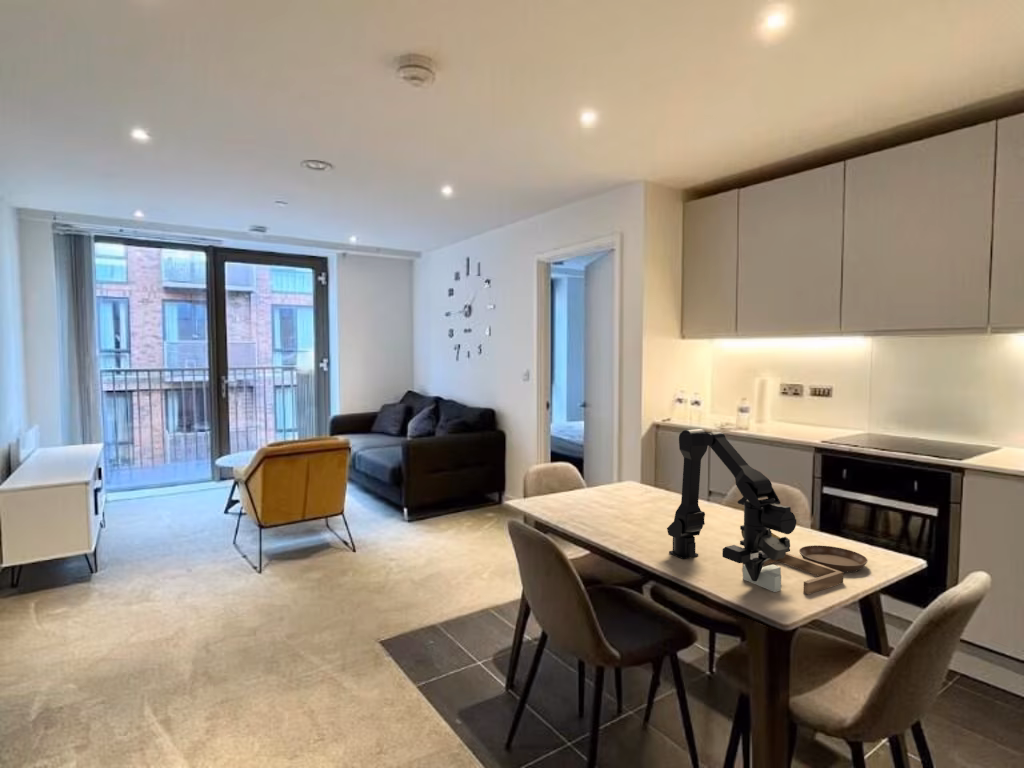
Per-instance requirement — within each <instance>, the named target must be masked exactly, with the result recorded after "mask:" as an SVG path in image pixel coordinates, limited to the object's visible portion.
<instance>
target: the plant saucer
mask: <svg viewBox="0 0 1024 768" xmlns="http://www.w3.org/2000/svg"><path fill="white" fill-rule="evenodd" d="M798 551H799V553H800V556H801V558H803V559H806V560H809V561H812V562H815V563H818V564H821V565H824V566H827V567H829V568H832V569H835V570H838V571H841V572H843V573H855V572H858V571H860V570H862V569H863V568H864V566H865V565H867V563H868V561H869V559H868V558H867V556H864V555H862V554H861V553H858V552H856V551H853V550H850V549H847V548H844V547H843V548H842V547H838V546H837V547H836V546H830V545H821V544H820V545H815V544H814V545H807V546H806V545H805V546H802V547H801V548H799V550H798Z"/></svg>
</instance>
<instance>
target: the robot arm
mask: <svg viewBox="0 0 1024 768" xmlns="http://www.w3.org/2000/svg"><path fill="white" fill-rule="evenodd" d="M678 444H679V445H678V447H679V451H680V453H681V455H682V457H683V466H682V467H683V468H682V470H683V471H682V472H683V473H682V485H681V500H680V501H681V502H680V504H679V506H678V507H677V509H676V510H675V514H674V518H673V519H674V520H673V522H671V523H670V525H669V526H668V527H666V530H667V535H668V536H670V537H672V550H669V551H668V553H669V554H670V555H672V556H676V557H678V558H680V559H682V560H686V559H690V558H694V557H699V553H697V552H696V536H700V534H701V530H702V529H703V526H705V524H706V523H705V517H706V513H705V511H702V509H701V507H700V506H699V496H700V495H699V494H700V482H701V481H700V480H701V467H702V466H701V465H702V464H701V463H702V459H703V457H704V455H705V454H706V452H707V450H708V446H709V447H710V449H711V450H712V451H713V452H714V453H715V455H716V457H718V458H719V459H720V461H721V462H722V463H723V465H724V466H725V467H726V468H727V469H728V470H729V472H730V473H731V474H732V475H733V477H734V479H735V486H736V487H737V489H738V491H739V492H740V495H741V496H742V497H741V498H740V499H739V500H738V501H737V504H739V505H742V506H743V525H742V524H741V525H740V526H739V530H741V531H742V530H743V531H744V538H743V539H742V540H741V539H740V540H739V545H737V544H731V545H726V546H725V547H724V548H722V550H721V551H722V555H721V556H722V558H725V559H726V560H729V561H732V562H735V563H737V564H743V563H744V565H745V567H746V569H747V571H748V573H749V575H750V577H751V579H752V581H757V579H758V577H759V574H760V572H761V569H762V567H764V566H765V565H764V563H765V562H766V561H767V560H769V559H772V560H777V559H780V558H782V559H783V558H784V556H785V554H786V553H790V552H791V548H790V547H791V542H790V541H791V540H790V538H788V537H787V536H782V537H780V539H778V538H774V537H773V536H772V534H771V533H772V531H776V532H778V533H782V534H784V535H790V534H792V533H793V532H794V531H795V528H796V526H797V518H796V516H795V514H794V512H792V510H791V506H788V505H782V504H781V500H780V499H779V496H778V494H777V493H776V491H775V490H774V487H773V484H772V481H771V480H770V479H769V478H768V477H767V476H765V474H763V473H762V472H761V471H759V470H757V469H756V468H753V467H752V466H750V465H749V463H748V462H746V460H745V459H744V458H743V457H742V456H741V454H740V453H739V452H738V451H737V450H736V449H735V447H734V446H733V445H732V444H731V443H730V441H729V440H728V439H727V438H726V435H725V434H724V433H723V432H721V431H705V429H704V428H703V429H702V428H697V429H695V428H694V429H685V430H683V431H681V432H680V433H679V436H678ZM741 546H743V547H741Z"/></svg>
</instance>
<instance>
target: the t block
mask: <svg viewBox="0 0 1024 768" xmlns="http://www.w3.org/2000/svg"><path fill="white" fill-rule="evenodd" d="M781 568H782V567H781V566H779V565H775V564H773V563H771V564H768V565H764V566H763V567H762V569H761V572H760V574H759V577H758V579H757V581H752V579H751V577H750V575H749V573H748V571H747V569H746V567H745V565H743V564H742V580H744V581H746V582H749V583H750V584H751V583H752V584H754V585H756V586H758V587H761V588H764V589H765V590H768V591H771V592H774V593H776V592H779V591H782V575H781V574H782V573H781V572H782V571H781Z"/></svg>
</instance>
